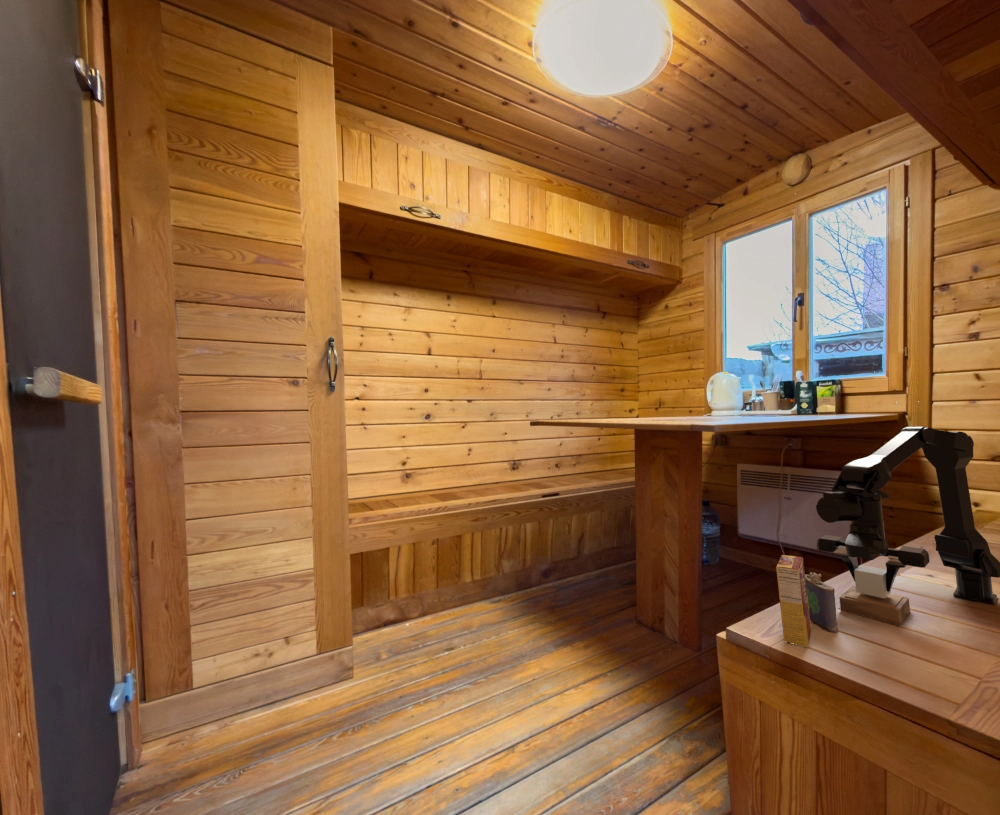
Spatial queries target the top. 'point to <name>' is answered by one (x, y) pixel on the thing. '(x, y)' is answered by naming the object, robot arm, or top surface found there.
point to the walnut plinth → (875, 606)
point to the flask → (821, 603)
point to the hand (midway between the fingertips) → (873, 587)
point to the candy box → (793, 600)
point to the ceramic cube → (871, 581)
